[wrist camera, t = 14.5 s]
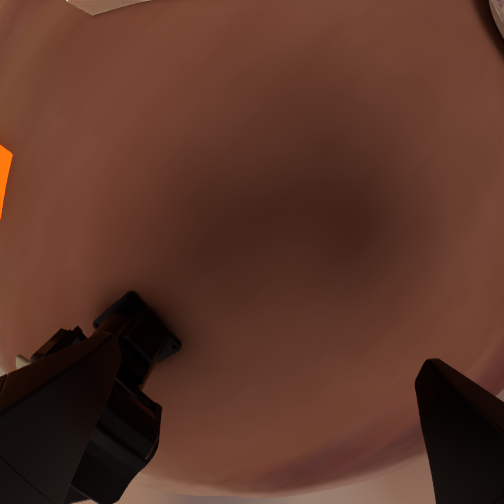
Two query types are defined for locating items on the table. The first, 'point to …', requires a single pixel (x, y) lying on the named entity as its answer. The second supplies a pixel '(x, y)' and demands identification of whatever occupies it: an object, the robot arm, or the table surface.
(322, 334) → the table surface
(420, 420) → the robot arm
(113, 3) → the collar
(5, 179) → the orange juice
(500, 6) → the paper bowls
